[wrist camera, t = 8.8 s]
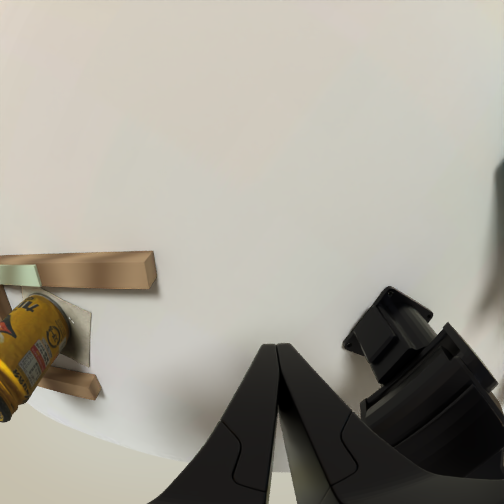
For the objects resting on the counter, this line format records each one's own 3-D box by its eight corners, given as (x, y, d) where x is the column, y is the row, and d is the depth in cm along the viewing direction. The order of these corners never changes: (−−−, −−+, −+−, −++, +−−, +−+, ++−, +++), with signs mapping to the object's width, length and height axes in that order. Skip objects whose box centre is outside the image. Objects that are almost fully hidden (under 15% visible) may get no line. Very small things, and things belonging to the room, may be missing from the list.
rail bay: (153, 250, 20) (142, 263, 18) (184, 397, 26) (180, 414, 24) (-11, 255, 20) (-24, 264, 18) (38, 373, 26) (29, 385, 24)
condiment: (21, 276, 21) (-57, 348, 10) (91, 311, 22) (22, 412, 11) (27, 332, 23) (-31, 404, 12) (89, 365, 25) (42, 455, 13)
